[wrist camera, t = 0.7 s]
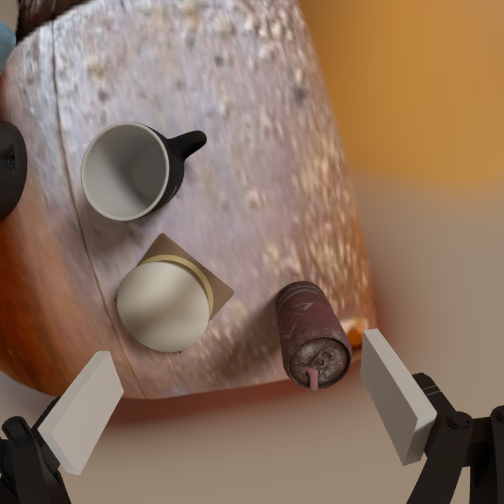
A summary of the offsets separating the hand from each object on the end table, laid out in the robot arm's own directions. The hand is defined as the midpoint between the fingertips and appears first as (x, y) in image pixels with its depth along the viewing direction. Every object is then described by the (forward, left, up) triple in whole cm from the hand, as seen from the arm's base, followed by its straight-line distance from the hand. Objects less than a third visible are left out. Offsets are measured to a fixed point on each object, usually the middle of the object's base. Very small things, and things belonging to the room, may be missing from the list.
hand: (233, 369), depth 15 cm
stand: (-4, -10, -23) cm, 25 cm away
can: (+9, 0, -23) cm, 25 cm away
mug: (-14, +2, -23) cm, 27 cm away
